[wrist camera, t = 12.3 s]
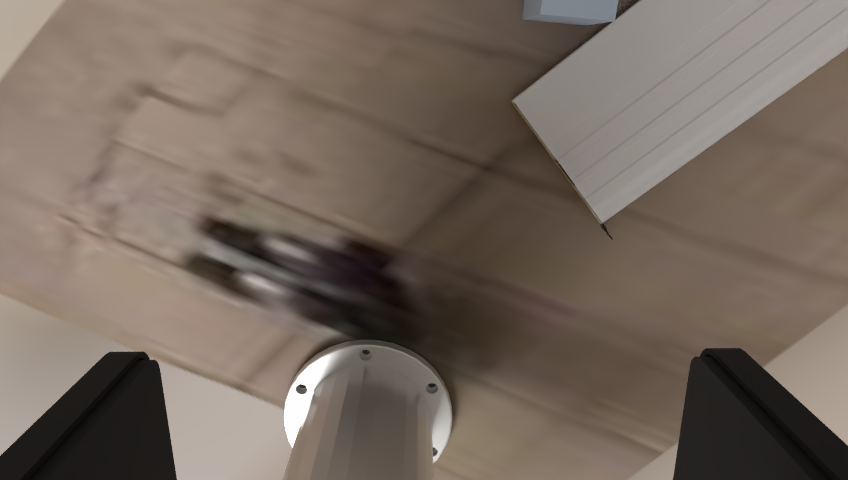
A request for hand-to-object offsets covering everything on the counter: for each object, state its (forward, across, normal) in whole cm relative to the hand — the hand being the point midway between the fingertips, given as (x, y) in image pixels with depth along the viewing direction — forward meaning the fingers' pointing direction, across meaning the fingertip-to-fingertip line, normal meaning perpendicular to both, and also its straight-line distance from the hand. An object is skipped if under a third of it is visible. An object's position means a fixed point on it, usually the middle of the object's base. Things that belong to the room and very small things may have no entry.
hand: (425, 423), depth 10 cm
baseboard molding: (+31, -22, -8) cm, 39 cm away
